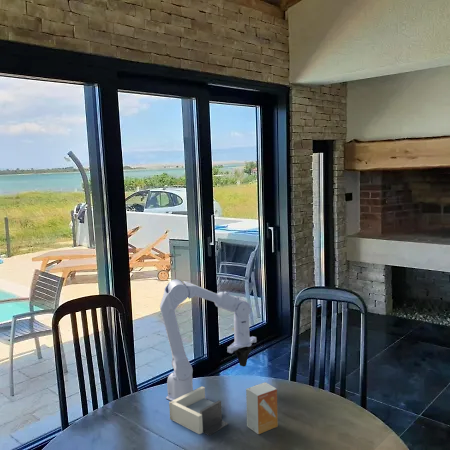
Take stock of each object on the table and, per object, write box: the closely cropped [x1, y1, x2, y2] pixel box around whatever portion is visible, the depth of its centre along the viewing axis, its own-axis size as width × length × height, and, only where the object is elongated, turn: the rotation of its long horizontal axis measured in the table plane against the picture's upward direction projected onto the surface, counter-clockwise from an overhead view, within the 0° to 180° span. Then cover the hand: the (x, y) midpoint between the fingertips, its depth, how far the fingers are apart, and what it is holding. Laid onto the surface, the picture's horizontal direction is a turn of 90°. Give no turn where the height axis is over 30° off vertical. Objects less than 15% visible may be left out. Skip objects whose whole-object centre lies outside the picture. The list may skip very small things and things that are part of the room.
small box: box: [245, 381, 279, 435], centre depth 150 cm, size 8×6×13 cm
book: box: [187, 397, 223, 413], centre depth 159 cm, size 9×12×3 cm
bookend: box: [200, 400, 229, 436], centre depth 151 cm, size 4×9×7 cm, turn 137°
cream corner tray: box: [168, 385, 206, 435], centre depth 157 cm, size 14×15×6 cm
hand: (242, 365), depth 176 cm, fingers closed
